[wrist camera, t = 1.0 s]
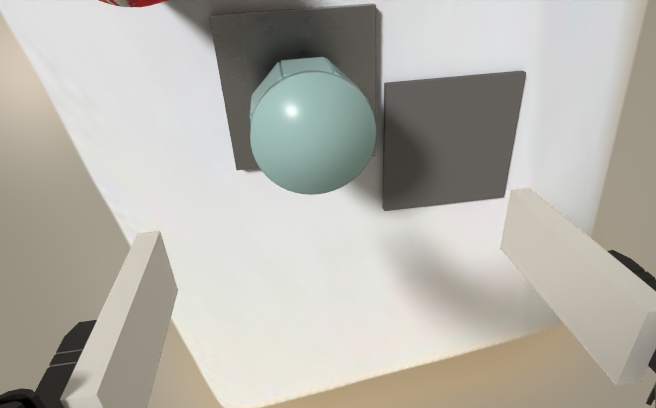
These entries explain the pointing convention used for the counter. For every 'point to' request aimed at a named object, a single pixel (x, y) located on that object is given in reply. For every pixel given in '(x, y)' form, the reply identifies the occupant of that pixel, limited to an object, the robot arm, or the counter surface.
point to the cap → (310, 126)
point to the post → (288, 55)
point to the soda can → (132, 2)
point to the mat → (449, 138)
